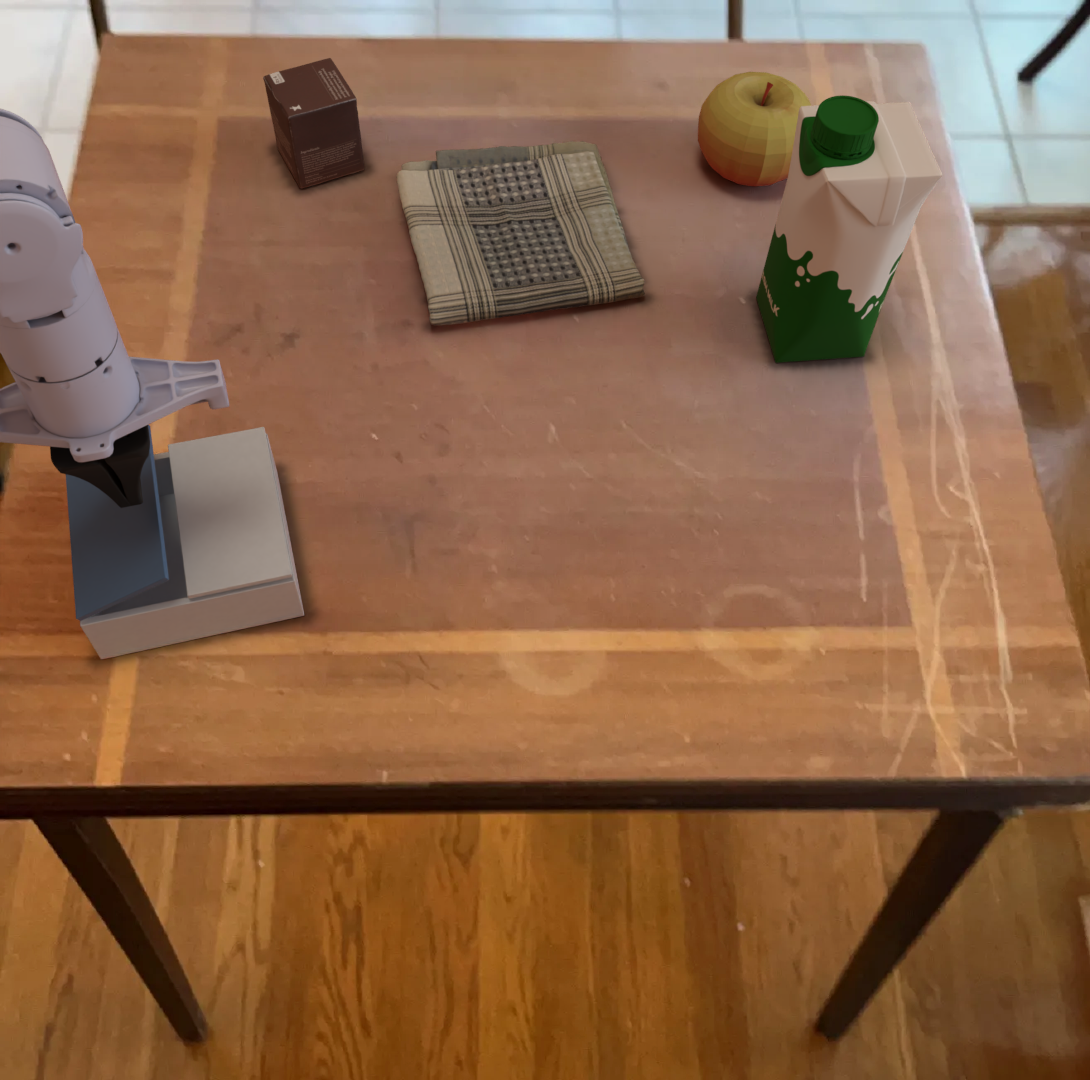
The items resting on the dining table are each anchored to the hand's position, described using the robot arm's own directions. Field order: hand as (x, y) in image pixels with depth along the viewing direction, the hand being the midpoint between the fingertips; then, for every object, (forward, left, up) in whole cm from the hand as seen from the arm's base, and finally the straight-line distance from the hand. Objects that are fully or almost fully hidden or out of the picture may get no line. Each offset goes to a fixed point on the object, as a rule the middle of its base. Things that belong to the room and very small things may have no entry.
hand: (130, 493), depth 71 cm
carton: (+2, 0, -9) cm, 9 cm away
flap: (-1, 0, -2) cm, 3 cm away
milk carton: (+51, +10, -9) cm, 53 cm away
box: (+17, +38, -9) cm, 43 cm away
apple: (+53, +29, -9) cm, 61 cm away
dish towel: (+31, +25, -9) cm, 41 cm away
